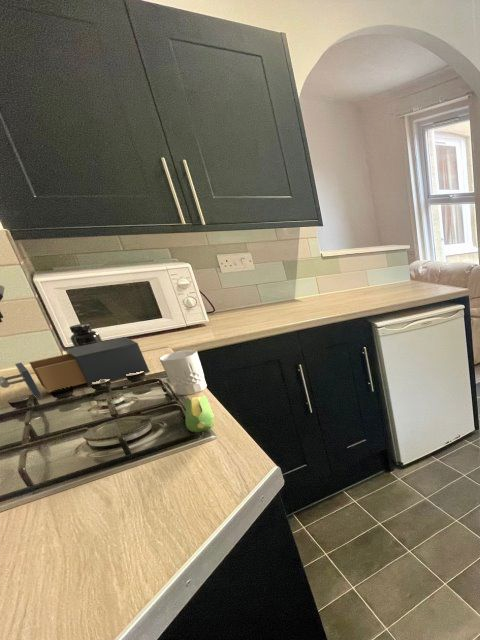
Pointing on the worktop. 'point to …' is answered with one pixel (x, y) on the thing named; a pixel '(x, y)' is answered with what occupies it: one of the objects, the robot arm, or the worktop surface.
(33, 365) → the drawer
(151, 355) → the worktop surface
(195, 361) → the white cup
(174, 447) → the worktop surface
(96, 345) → the cabinet
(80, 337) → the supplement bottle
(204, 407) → the edible corn
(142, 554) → the worktop surface
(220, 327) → the worktop surface
